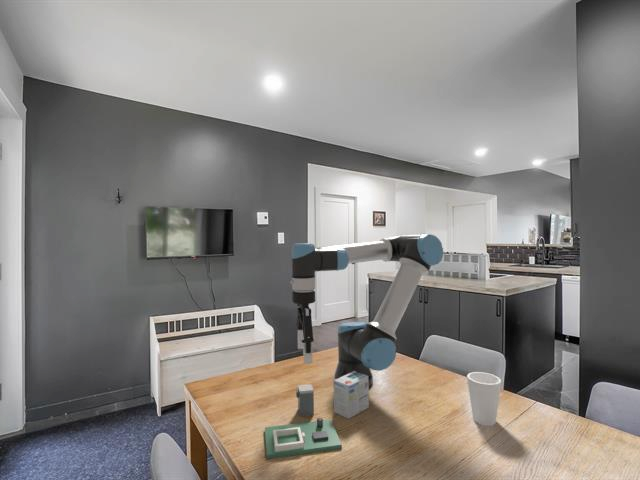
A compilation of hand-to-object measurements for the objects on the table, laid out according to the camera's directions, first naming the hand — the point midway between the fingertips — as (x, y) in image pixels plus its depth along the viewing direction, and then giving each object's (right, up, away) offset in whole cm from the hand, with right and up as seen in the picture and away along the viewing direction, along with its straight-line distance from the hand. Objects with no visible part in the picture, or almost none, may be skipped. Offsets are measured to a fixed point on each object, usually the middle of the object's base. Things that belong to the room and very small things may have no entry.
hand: (304, 355), depth 110 cm
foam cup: (+56, -18, -6) cm, 59 cm away
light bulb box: (+15, -19, +1) cm, 24 cm away
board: (0, -19, -15) cm, 24 cm away
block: (0, -19, 0) cm, 19 cm away
